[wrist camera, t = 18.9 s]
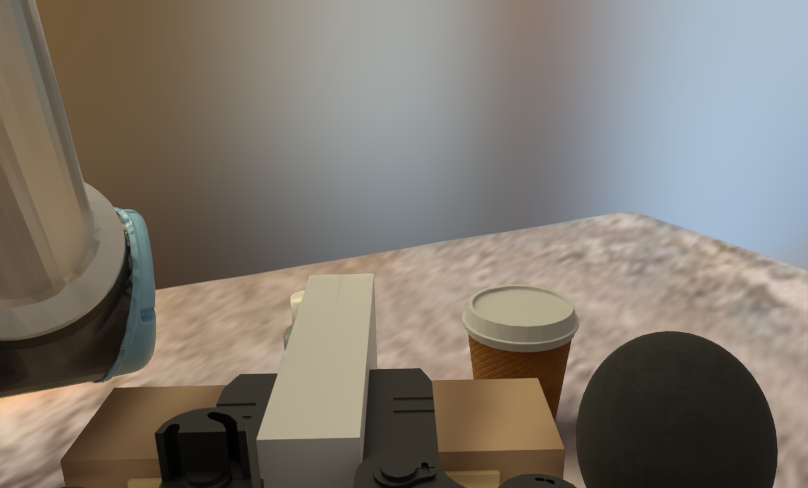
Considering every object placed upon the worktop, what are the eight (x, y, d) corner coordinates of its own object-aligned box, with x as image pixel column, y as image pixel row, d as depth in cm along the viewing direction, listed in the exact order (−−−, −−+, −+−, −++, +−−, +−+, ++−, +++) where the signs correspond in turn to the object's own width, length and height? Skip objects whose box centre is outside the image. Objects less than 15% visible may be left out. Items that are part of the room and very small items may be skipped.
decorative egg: (688, 640, 41) (720, 417, 36) (533, 522, 50) (542, 333, 45) (795, 547, 47) (834, 348, 43) (641, 458, 57) (659, 287, 52)
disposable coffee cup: (525, 479, 55) (530, 340, 51) (438, 429, 61) (437, 303, 58) (594, 430, 61) (603, 303, 57) (508, 390, 67) (512, 274, 64)
